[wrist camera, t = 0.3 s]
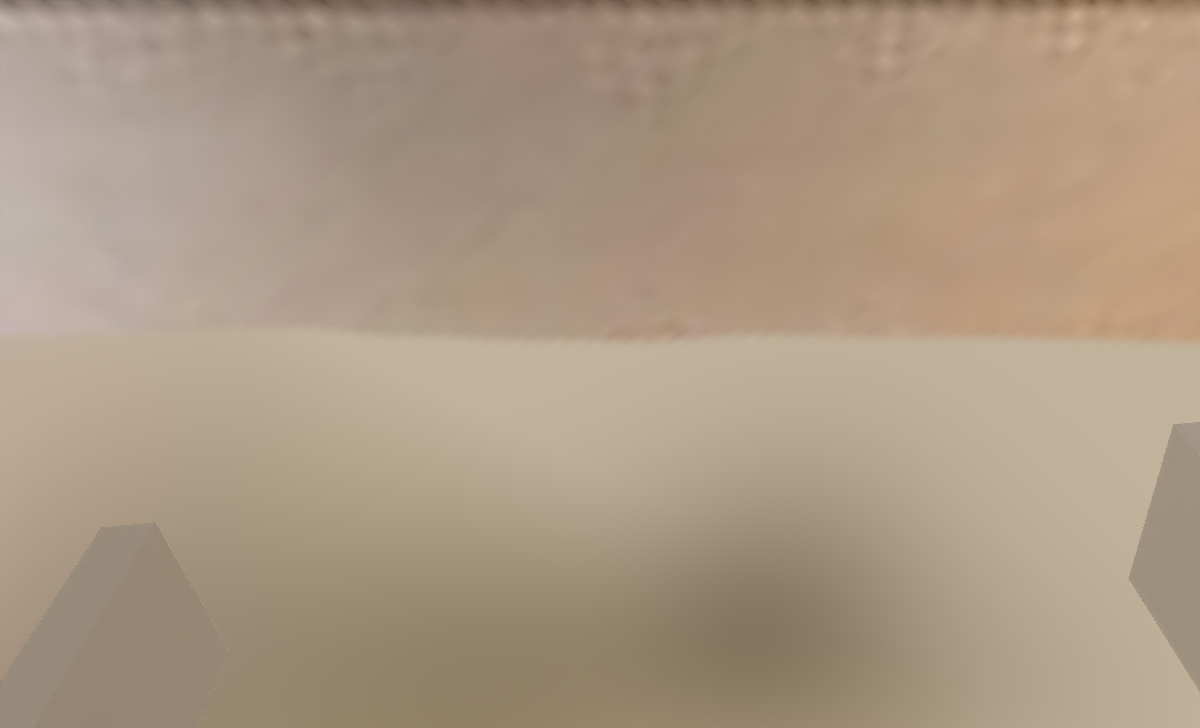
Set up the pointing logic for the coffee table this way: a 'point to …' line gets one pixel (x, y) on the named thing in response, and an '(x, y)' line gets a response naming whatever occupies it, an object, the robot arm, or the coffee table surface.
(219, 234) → the coffee table surface
